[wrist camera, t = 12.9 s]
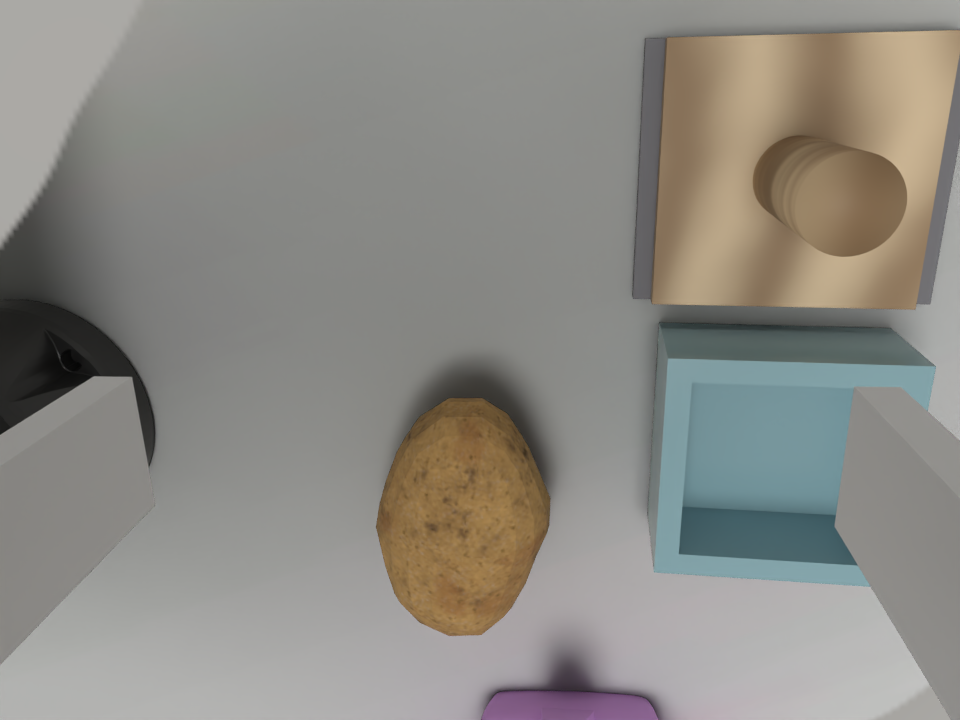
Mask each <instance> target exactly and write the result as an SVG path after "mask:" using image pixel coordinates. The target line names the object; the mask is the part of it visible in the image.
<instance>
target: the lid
mask: <svg viewBox="0 0 960 720" xmlns="http://www.w3.org/2000/svg"><path fill="white" fill-rule="evenodd" d="M959 55H960V30H945V31H905V32H865V33H825V34H786V35H746V36H706V37H667V38H666V42H665V59H664V77H663V94H662V112H661V129H660V147H659V165H658V182H657V200H656V217H655V235H654V252H653V270H652V287H651V302H652V304H672V305H721V306H769V307H817V308H866V309H914V310H915V309H916V303H917V298H918V292H919V286H920V280H921V275H922V269H923V263H924V257H925V251H926V246H927V240H928V234H929V228H930V222H931V217H932V211H933V205H934V199H935V194H936V188H937V182H938V176H939V170H940V165H941V159H942V153H943V147H944V141H945V136H946V130H947V124H948V118H949V113H950V107H951V101H952V95H953V89H954V84H955V78H956V72H957V66H958V60H959Z"/></svg>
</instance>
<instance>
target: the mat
mask: <svg viewBox="0 0 960 720" xmlns="http://www.w3.org/2000/svg"><path fill="white" fill-rule="evenodd" d="M665 42H666V38H653V39H645V53H644V73H643V94H642V114H641V134H640V155H639V175H638V196H637V216H636V237H635V257H634V278H633V299H651V287H652V270H653V252H654V235H655V217H656V200H657V182H658V165H659V147H660V129H661V112H662V94H663V77H664V59H665ZM959 140H960V55H959V60H958V66H957V72H956V78H955V84H954V89H953V95H952V101H951V107H950V113H949V118H948V124H947V130H946V136H945V141H944V147H943V153H942V159H941V165H940V170H939V176H938V182H937V188H936V194H935V199H934V205H933V211H932V217H931V222H930V228H929V234H928V240H927V246H926V251H925V257H924V263H923V269H922V275H921V280H920V286H919V292H918V298H917V303H916V304H930V303H931V297H932V291H933V286H934V280H935V275H936V269H937V264H938V258H939V252H940V247H941V241H942V236H943V230H944V224H945V219H946V213H947V208H948V202H949V196H950V191H951V185H952V180H953V174H954V168H955V163H956V157H957V152H958V146H959Z"/></svg>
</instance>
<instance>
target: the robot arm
mask: <svg viewBox="0 0 960 720" xmlns="http://www.w3.org/2000/svg"><path fill="white" fill-rule="evenodd" d="M153 445H154V425H153V418H152V413H151V409H150V405H149V401H148V399H147V396H146V393H145V391H144V388H143V386H142V384H141V382H140V380H139V378H138V376H137V375H136V373H135V371H134V370H133V368H132V367H131V365H130V364H129V362H128V361H127V359H126V358H125V357H124V356H123V354H122V353H121V352H120V351H119V350H118V349H117V347H116V346H115V345H114V344H113V343H112V342H111V341H110V340H109V339H108V338H106V337H105V336H104V335H103V334H102V333H101V332H99V331H98V330H97V329H96V328H94V327H93V326H92V325H90V324H89V323H87V322H86V321H84V320H82V319H81V318H79V317H77V316H75V315H73V314H71V313H70V312H67V311H65V310H63V309H60V308H57V307H55V306H52V305H48V304H45V303H40V302H36V301H29V300H5V301H0V665H1V664H2V663H3V661H4V660H5V659H6V658H7V657H8V656H9V655H10V654H11V653H12V652H13V651H14V650H15V649H16V648H17V647H18V646H19V645H20V644H21V643H22V642H23V641H24V640H25V639H26V638H27V637H28V636H29V635H30V634H31V633H32V632H33V631H34V630H35V629H36V628H37V626H38V625H39V624H40V623H41V622H42V621H43V620H44V619H45V618H46V617H47V616H48V615H49V614H50V613H51V612H52V611H53V610H54V609H55V608H56V607H57V606H58V605H59V604H60V603H61V602H62V601H63V600H64V599H65V598H66V597H67V596H68V595H69V594H70V593H71V591H72V590H73V589H74V588H75V587H76V586H77V585H78V584H79V583H80V582H81V581H82V580H83V579H84V578H85V577H86V576H87V575H88V574H89V573H90V572H91V571H92V570H93V569H94V568H95V567H96V566H97V565H98V564H99V563H100V562H101V561H102V560H103V559H104V558H105V556H106V555H107V554H108V553H109V552H110V551H111V550H112V549H113V548H114V547H115V546H116V545H117V544H118V543H119V542H120V541H121V540H122V539H123V538H124V537H125V536H126V535H127V534H128V533H129V532H130V531H131V530H132V529H133V528H134V527H135V526H136V525H137V524H138V523H139V521H140V520H141V519H142V518H143V517H144V516H145V515H146V514H147V513H148V512H149V511H150V510H151V509H152V508H153V507H154V506H155V500H154V494H153V489H152V483H151V478H150V472H149V464H150V461H151V457H152V452H153ZM835 528H836V530H837V531H838V533H839V535H840V536H841V538H842V540H843V541H844V543H845V545H846V546H847V548H848V550H849V551H850V553H851V555H852V556H853V558H854V560H855V561H856V563H857V565H858V566H859V568H860V570H861V571H862V573H863V575H864V576H865V578H866V580H867V581H868V583H869V585H870V586H871V588H872V590H873V591H874V593H875V595H876V596H877V598H878V600H879V601H880V603H881V604H882V606H883V608H884V609H885V611H886V613H887V614H888V616H889V618H890V619H891V621H892V623H893V624H894V626H895V628H896V629H897V631H898V633H899V634H900V636H901V638H902V639H903V641H904V643H905V644H906V646H907V648H908V649H909V651H910V653H911V654H912V656H913V658H914V659H915V661H916V663H917V664H918V666H919V668H920V669H921V671H922V673H923V674H924V676H925V678H926V679H927V681H928V682H929V684H930V686H931V687H932V689H933V691H934V692H935V694H936V696H937V697H938V699H939V701H940V702H941V704H942V706H943V707H944V709H945V710H946V712H947V714H948V715H949V717H950V719H951V720H960V441H959V440H958V439H957V438H956V437H955V436H954V435H953V434H952V433H951V432H950V431H948V430H947V429H946V428H945V427H944V426H943V425H942V424H941V423H940V422H939V421H938V420H936V419H935V418H934V417H933V416H932V415H931V414H930V413H929V412H928V411H927V410H925V409H924V408H923V407H922V406H921V405H920V404H919V403H918V402H917V401H916V400H914V399H913V398H912V397H911V396H910V395H909V394H908V393H907V392H906V391H905V390H904V389H902V388H901V387H855V386H854V391H853V398H852V405H851V413H850V420H849V427H848V434H847V441H846V448H845V455H844V462H843V469H842V476H841V483H840V490H839V497H838V504H837V511H836V519H835Z"/></svg>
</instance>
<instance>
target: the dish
mask: <svg viewBox="0 0 960 720" xmlns="http://www.w3.org/2000/svg"><path fill="white" fill-rule="evenodd" d="M935 369H936V366H935V365H934V364H932V363H931V362H930V361H929V360H928V359H926V358H925V357H924V356H923V355H922V354H921V353H919V352H918V351H917V350H916V349H915V348H913V347H912V346H911V345H910V344H909V343H907V342H906V341H905V340H904V339H903V338H902V337H900V336H899V335H898V334H897V333H896V332H894V331H893V330H892V329H891V328H862V327H820V326H778V325H736V324H694V323H659V331H658V348H657V364H656V381H655V397H654V413H653V430H652V446H651V462H650V479H649V495H648V512H647V516H648V524H649V533H650V542H651V551H652V560H653V569H654V572H657V573H672V574H687V575H702V576H717V577H732V578H747V579H762V580H777V581H792V582H807V583H822V584H837V585H852V586H867V587H871V586H870V585H869V583H868V581H867V580H866V578H865V576H864V575H863V573H862V571H861V570H860V568H859V566H858V565H857V563H856V561H855V560H854V558H853V556H852V555H851V553H850V551H849V550H848V548H847V546H846V545H845V543H844V541H843V540H842V538H841V536H840V535H839V533H838V531H837V530H836V528H835V519H836V511H837V504H838V497H839V490H840V483H841V476H842V469H843V462H844V455H845V448H846V441H847V434H848V427H849V420H850V413H851V405H852V398H853V391H854V386H855V387H901V388H902V389H904V390H905V391H906V392H907V393H908V394H909V395H910V396H911V397H912V398H913V399H914V400H916V401H917V402H918V403H919V404H920V405H921V406H922V407H923V408H924V409H925V410H927V411H928V406H929V401H930V396H931V390H932V385H933V379H934V374H935Z"/></svg>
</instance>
